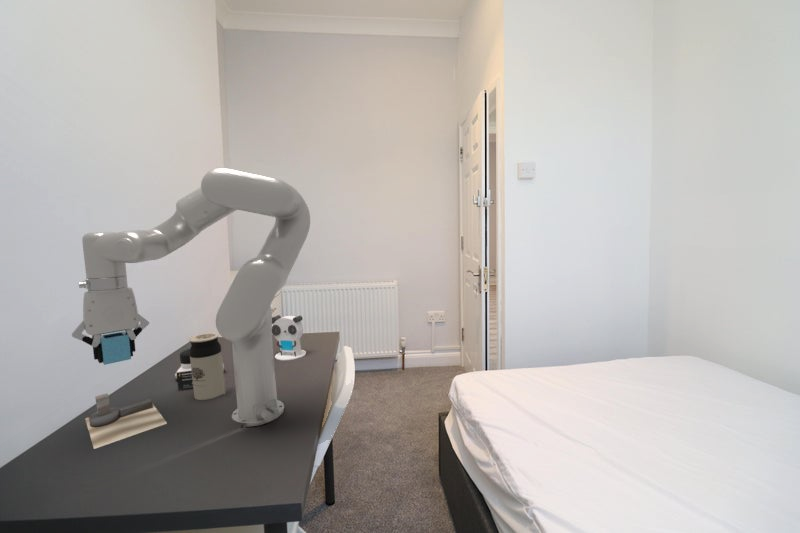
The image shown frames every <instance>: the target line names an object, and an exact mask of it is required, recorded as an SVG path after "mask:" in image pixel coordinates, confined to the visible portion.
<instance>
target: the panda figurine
mask: <svg viewBox="0 0 800 533" xmlns="http://www.w3.org/2000/svg"><path fill="white" fill-rule="evenodd" d="M302 321H303V316H302V315H297V316H294V315H285V316H281V315H280V314H278V315H275V316H272V336H273V337H274V338H275V339H276V341H277V342H276V346H277V347H278V348H279V350H280V352H278V353H276V354H275V355H274V359H276V360H278V361H292V360H298V359H300V358H303V357H305V356H306V354H307V351H306V350H304V349H302V346H301V337H302V336H303V334H304V326H303V323H302Z"/></svg>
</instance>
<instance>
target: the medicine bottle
mask: <svg viewBox="0 0 800 533" xmlns="http://www.w3.org/2000/svg"><path fill="white" fill-rule="evenodd" d="M189 350H190V348H188V349H185V350H183V351H181V352H180V354H179V360H180V367H179V368H178V369H177V371H176V372H175V374H176V373H177V379H176V381H177V390H178V391H180V392H181V391H187V390H194V389H193V380H192V371H191V362H190V353H189Z"/></svg>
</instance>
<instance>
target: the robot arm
mask: <svg viewBox="0 0 800 533" xmlns="http://www.w3.org/2000/svg"><path fill="white" fill-rule="evenodd" d="M175 209H176V210H175V212H174V213H173V215H172V216H171V217H169V218H168V219H167V220H165V221H163V222H161V223H160V224H158V225H157V226H155V227H154V228H153V227H152V228H151V229H147V230H140V229H139V230H125V231H119V232H118V231H117V232H112V231H110V232H109V231H107V232H104V231H103V232H102V231H101V232H100V231H99V232H88V233H84V235H83V236H82V238H81V239H82V240H81V242H82V251H83V260H84V268H85V276H86V277H85V278H86V279H85V280H83V281H79V282H78V287H79V289H81V288H82V289H86V290H87V291H85V292H84V295H83V299H82V300H83V302H82V303H83V304H82V312H83V313H82V314H83V315H82V316H83V319H82V321H81V322H80V323H79V325H78V326H77V327H76V328H75V329H74V331H73V332H72V333H71V336H72V338H74V339H76V340H79V341H82V342H84V343H85V344H87V345H89V346H91V347H92V352H93V360H95V361H96V360H97V362H98V363H99V364H103V356H102V347H101V345H100V343H99V341H100V338H101V335H105V334H111V333H117V332H122V331H125V332H126V333H127V334H128V335H129V343H130V353H131V357H134V352H136V341H135V340H136V339H137V337H138V336H139V335H140V334H141V333H142V331H143V330H144V329H146V327H147V326H149V325H150V322H149V321H148V320H147V319H146V318H144V317H143V316H142V315H141V314H139V310H138V305H137V300H136V297H135V293H134V289H133V288H132V287H130V286H128V276H127V266H126V264H138V263H144V262H150V261H156V260H159V259H162V258H164V257H166V256H168V255H170V254H172V253H173V252H175V251H177V250H178V249H180V248H182V247H184V246H185V245H187V244H188V243H189V242H191V241H192V240H193V239H194V238H196V237H197V236H199V235H200V234H201V232H202V231H204V230H206V229H207V228H209V227H211V226H212V225H214V224H215V223H217V222H220V221H221V220H222V219H224V218H226V217H227V216H229V215H231V214H232V213H235V212H236V211H243V212H247V213H252V214H253V213H254V214H256V215H257V214H258V215H263V216H266V217H272V218H275V222H274V225H273V227H272V228H271V230H270V231H269V233H268V235H267V237H266V239H265V242H264V244H263V245H262V247H261V249H260V250H259V253H258V254H257V256H255V257H254V258H251V259H249V260H247V261H246V262H245V263H244V264H243V265H242V266H240V268H239V270H238V271H237V273H236V275H235V277H234V279H233V280H232V282H231V284H230V286H229V287H228V291H227V293H226V294H225V297H224V298H223V300H222V302H221V304H220V306H219V308H218V310H217V313H216V315H215V327H216V329H217V332H218V334H219V335H220V336H221V337H222V338H223V339H225V340H226V341H228V342H231V354H232V364H233V374H234V385H235V395H236V404H237V406H236V407H237V408H236V409H235V410H234V411H233V412H232V414H231V419H232V420H233V421H234V422H237V423H241V424H243V425H241V427H243V428H244V427H247V428H248V427H249V428H250V427H255V426H256V427H257V426H261V425H264V424H268V423H270V422H273V421H274V420H276V419H278V418H279V417H280V416H282V414H283V413H284V410H285V404H284V403H283V401H281V400H279V399H278V394H277V384H276V372H275V370H276V369H275V360H274V359H275V357H274V346H273V334H272V326H273V324H272V317H273V311H272V307H271V305H272V303H273V300H274V299H275V297H276V295H277V294H278V292H279V291H280V290H281V289H282V288H283V287H284V286H285V285H286V282H287V280H288V277H289V275H290V273H291V271H292V269H293V267H294V265H295V263H296V261H297V259H298V256H299V254H300V252H301V250H302V248H303V246H304V244H305V241H306V240H307V238H308V234H309V232H310V228H311V214H310V210H309V207H308V204H307V203H306V201H305V199H304V197H303V196H302V195H301V193H300V192H299V191H298V190H297V189H296V188H295V187H294V186H292V185H290V184H289V183H287V182H285V181H284V180H281V179H278V178H274V177H270V176H265V175H260V174H255V173H251V172H246V171H241V170H238V169H237V170H236V169H232V168H228V167H223V166H222V167H215V168H213V169H210V170H209V171H207V173H205V174H204V176H203V177H202V179H201V183H200V187H199V188H197V189H195V190H193V191H192V192H190V193H188V194H186V195H185V196H183V197H181V198H180V199H178V201H177V202H176V203H175ZM84 331H85V333H86V334H88V335H86V334H83V332H84ZM90 336H91V337H90Z"/></svg>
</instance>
